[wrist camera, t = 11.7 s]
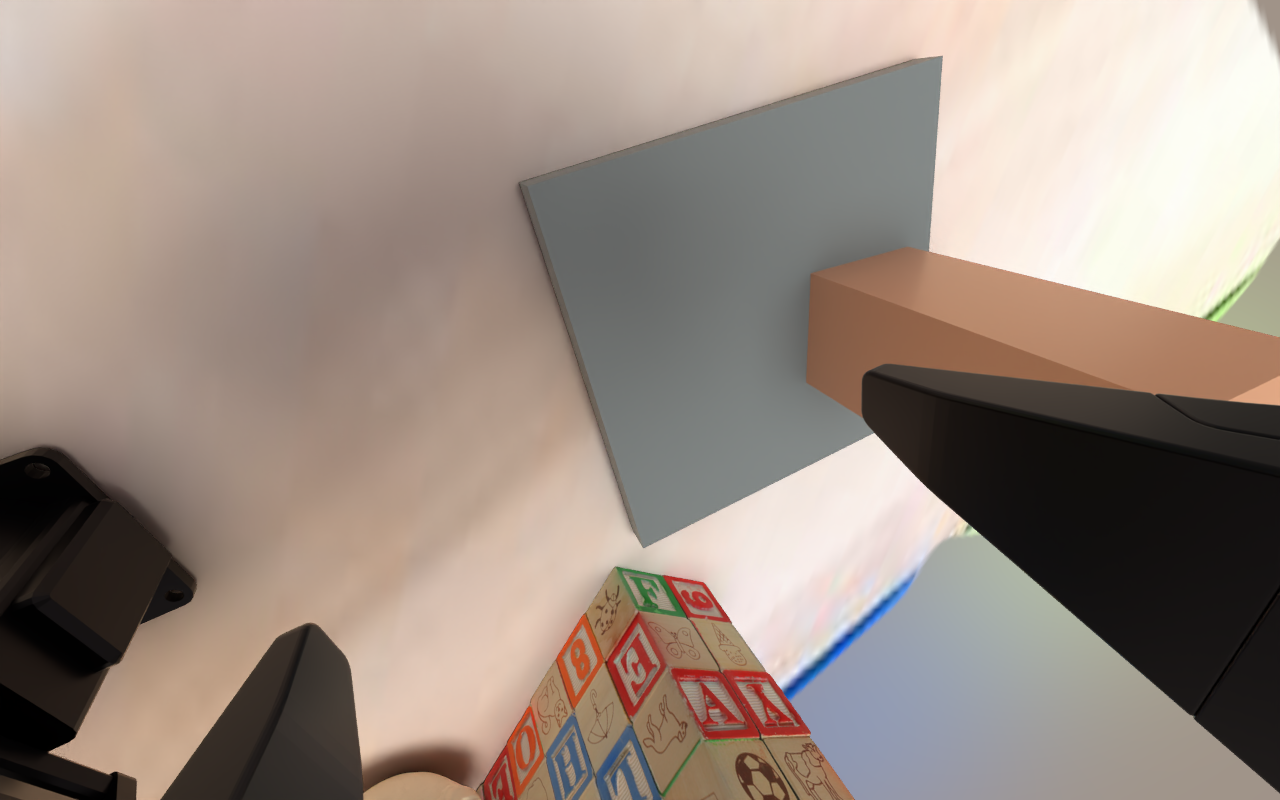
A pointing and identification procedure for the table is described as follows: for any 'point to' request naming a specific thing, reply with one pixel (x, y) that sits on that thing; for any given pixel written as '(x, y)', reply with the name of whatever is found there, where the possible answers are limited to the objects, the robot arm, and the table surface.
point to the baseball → (420, 788)
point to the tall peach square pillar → (1019, 333)
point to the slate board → (730, 281)
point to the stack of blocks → (659, 710)
